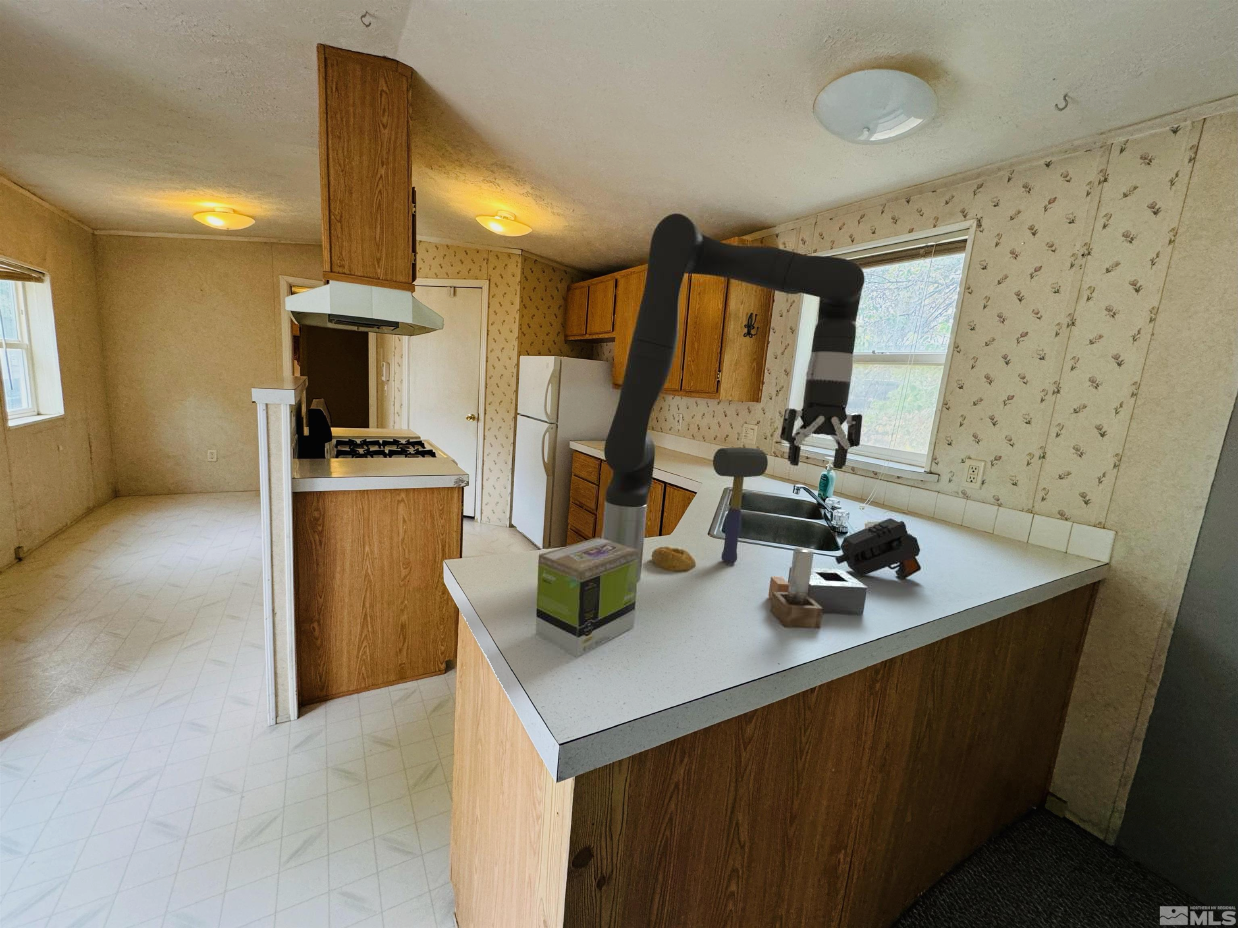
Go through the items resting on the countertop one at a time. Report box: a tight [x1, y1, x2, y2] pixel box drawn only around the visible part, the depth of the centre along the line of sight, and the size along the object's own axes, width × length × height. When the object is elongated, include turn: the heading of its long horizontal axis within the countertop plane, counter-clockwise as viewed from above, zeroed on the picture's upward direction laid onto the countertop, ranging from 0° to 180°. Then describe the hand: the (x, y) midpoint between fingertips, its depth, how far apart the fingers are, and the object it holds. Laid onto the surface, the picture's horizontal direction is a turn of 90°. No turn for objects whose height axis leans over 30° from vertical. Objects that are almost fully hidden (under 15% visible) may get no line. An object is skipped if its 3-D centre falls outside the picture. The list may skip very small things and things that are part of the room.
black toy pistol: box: [834, 517, 922, 580], centre depth 125 cm, size 6×19×15 cm, turn 89°
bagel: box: [651, 546, 697, 572], centre depth 121 cm, size 10×11×5 cm
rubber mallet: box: [712, 446, 769, 566], centre depth 123 cm, size 12×8×30 cm, turn 113°
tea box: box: [535, 536, 639, 658], centre depth 84 cm, size 15×10×15 cm, turn 141°
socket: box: [787, 566, 868, 616], centre depth 105 cm, size 12×10×6 cm
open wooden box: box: [769, 592, 823, 629], centre depth 96 cm, size 7×7×4 cm
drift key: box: [767, 576, 789, 600], centre depth 104 cm, size 9×4×4 cm, turn 95°
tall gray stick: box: [787, 547, 815, 606], centre depth 95 cm, size 4×4×14 cm
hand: (815, 466), depth 92 cm, fingers open, 8 cm apart
